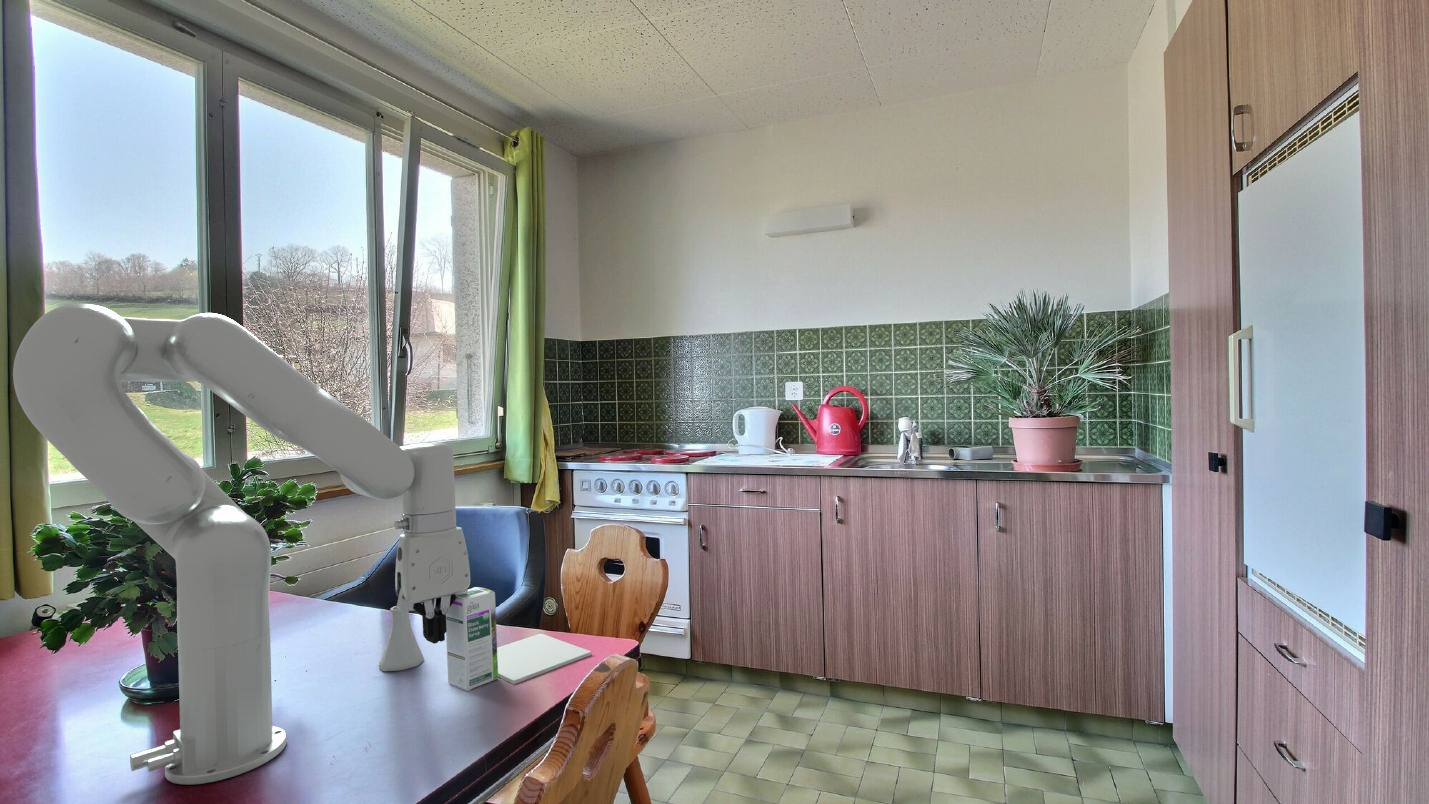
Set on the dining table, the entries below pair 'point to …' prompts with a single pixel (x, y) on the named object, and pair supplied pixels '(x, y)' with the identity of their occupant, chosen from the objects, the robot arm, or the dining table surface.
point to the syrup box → (472, 639)
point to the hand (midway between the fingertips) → (435, 640)
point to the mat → (535, 657)
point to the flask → (400, 644)
